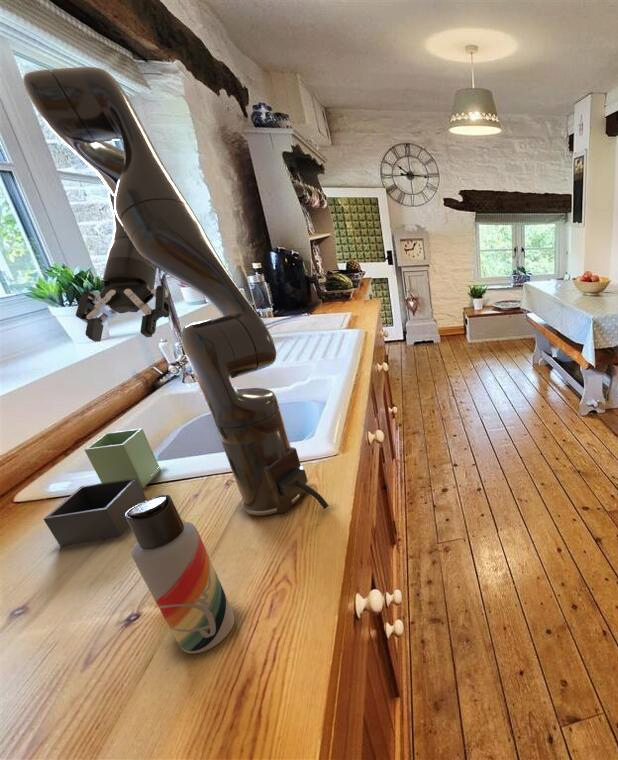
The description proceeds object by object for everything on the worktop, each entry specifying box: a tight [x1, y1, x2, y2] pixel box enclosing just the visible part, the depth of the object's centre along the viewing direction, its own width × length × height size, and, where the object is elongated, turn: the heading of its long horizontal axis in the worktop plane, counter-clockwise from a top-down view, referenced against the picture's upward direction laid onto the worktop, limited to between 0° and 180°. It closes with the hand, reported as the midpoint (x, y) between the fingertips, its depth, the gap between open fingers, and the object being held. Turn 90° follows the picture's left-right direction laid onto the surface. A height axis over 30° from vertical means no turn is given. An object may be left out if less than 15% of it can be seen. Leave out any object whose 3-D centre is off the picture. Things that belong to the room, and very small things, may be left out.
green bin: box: [84, 428, 162, 489], centre depth 78 cm, size 6×6×10 cm
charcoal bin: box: [43, 478, 148, 547], centre depth 68 cm, size 8×8×6 cm
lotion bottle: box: [125, 494, 235, 654], centre depth 47 cm, size 6×6×20 cm
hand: (120, 337), depth 77 cm, fingers open, 8 cm apart
